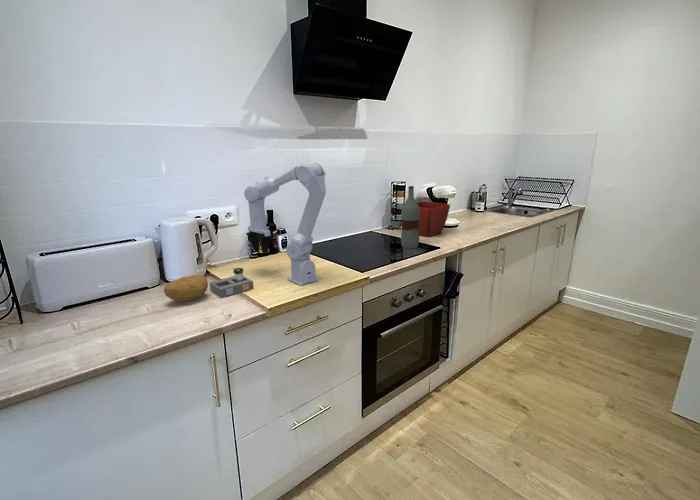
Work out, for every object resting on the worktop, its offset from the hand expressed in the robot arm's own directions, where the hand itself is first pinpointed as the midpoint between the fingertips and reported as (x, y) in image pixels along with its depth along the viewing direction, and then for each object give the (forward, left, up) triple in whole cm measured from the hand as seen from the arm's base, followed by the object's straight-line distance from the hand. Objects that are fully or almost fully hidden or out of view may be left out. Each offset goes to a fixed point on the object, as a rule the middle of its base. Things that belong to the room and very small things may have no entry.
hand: (260, 251), depth 147 cm
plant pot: (-1, -103, -10) cm, 104 cm away
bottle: (-13, -75, -10) cm, 77 cm away
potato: (-6, +31, -10) cm, 33 cm away
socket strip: (-7, +16, -10) cm, 20 cm away
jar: (-7, +13, -10) cm, 18 cm away
